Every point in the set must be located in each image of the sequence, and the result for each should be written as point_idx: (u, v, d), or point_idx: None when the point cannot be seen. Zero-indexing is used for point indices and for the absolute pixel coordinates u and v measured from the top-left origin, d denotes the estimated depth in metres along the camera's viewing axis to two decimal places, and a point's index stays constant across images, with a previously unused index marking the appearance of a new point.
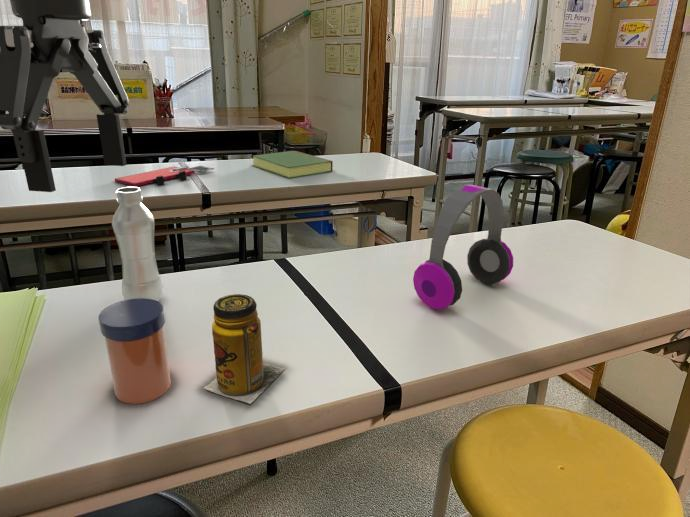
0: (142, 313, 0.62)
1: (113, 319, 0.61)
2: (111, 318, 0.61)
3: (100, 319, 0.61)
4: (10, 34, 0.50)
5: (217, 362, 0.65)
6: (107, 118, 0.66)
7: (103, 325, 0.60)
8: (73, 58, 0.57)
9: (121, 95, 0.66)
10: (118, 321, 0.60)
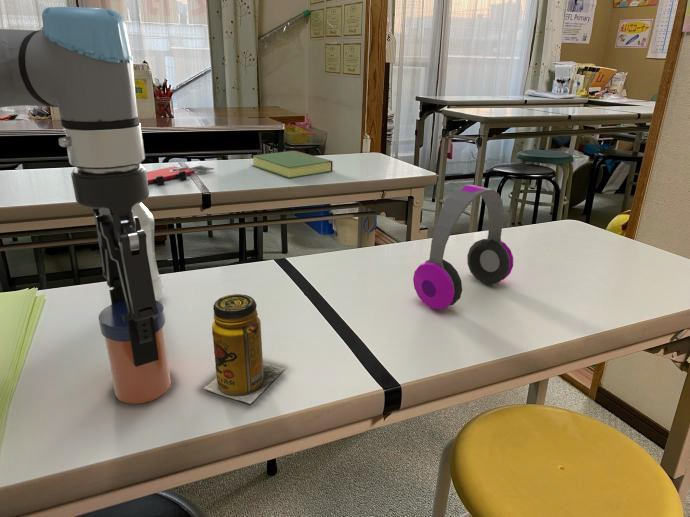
0: None
1: (113, 319, 0.61)
2: (111, 318, 0.61)
3: (100, 319, 0.61)
4: None
5: (217, 362, 0.65)
6: None
7: (103, 325, 0.60)
8: None
9: (130, 304, 0.56)
10: (118, 321, 0.60)
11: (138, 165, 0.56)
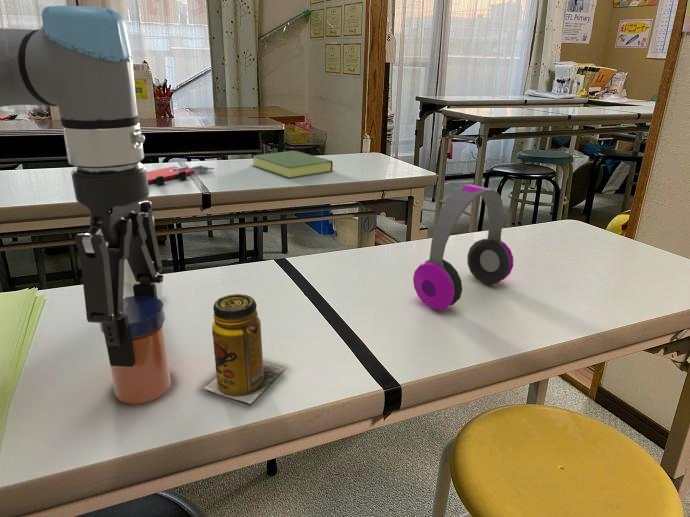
0: (128, 304, 0.63)
1: (152, 307, 0.63)
2: (151, 308, 0.63)
3: (159, 310, 0.62)
4: (89, 245, 0.52)
5: (217, 362, 0.65)
6: (144, 289, 0.65)
7: (163, 307, 0.63)
8: None
9: (157, 261, 0.67)
10: (152, 303, 0.64)
11: None
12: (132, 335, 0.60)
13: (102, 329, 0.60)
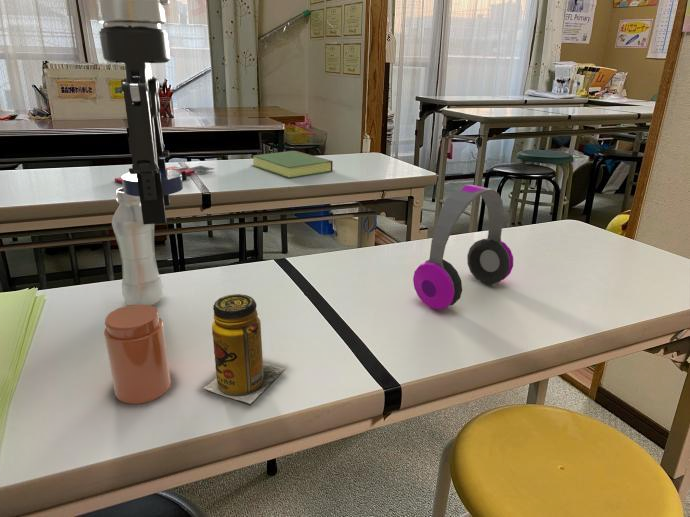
0: None
1: (170, 173, 0.68)
2: (171, 173, 0.68)
3: (180, 174, 0.68)
4: (136, 92, 0.57)
5: (217, 362, 0.65)
6: None
7: None
8: None
9: (161, 138, 0.71)
10: (168, 171, 0.69)
11: None
12: (163, 193, 0.65)
13: (131, 191, 0.64)
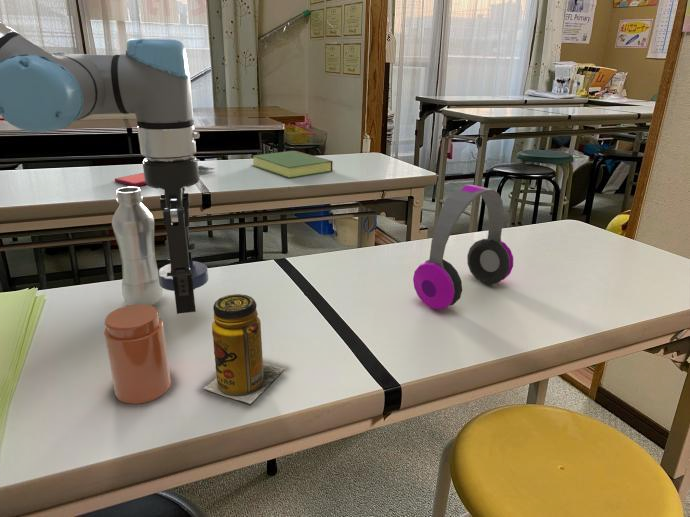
0: None
1: (198, 266, 0.81)
2: (198, 267, 0.81)
3: (206, 268, 0.81)
4: (175, 216, 0.70)
5: (217, 362, 0.65)
6: None
7: None
8: None
9: (188, 233, 0.84)
10: (195, 264, 0.82)
11: None
12: (193, 287, 0.78)
13: (166, 286, 0.77)
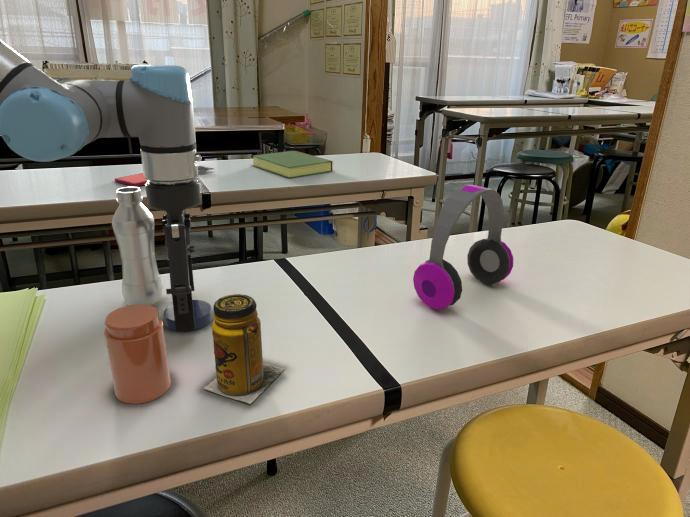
0: None
1: (202, 306, 0.84)
2: (202, 307, 0.83)
3: (210, 307, 0.83)
4: (176, 230, 0.70)
5: (217, 362, 0.65)
6: None
7: (209, 305, 0.84)
8: None
9: None
10: (199, 304, 0.84)
11: None
12: (198, 327, 0.80)
13: (172, 327, 0.80)
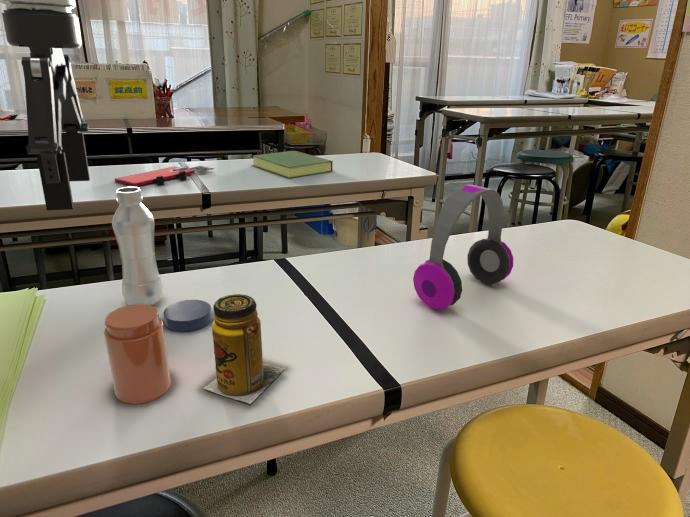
0: (181, 307, 0.83)
1: (202, 306, 0.84)
2: (202, 307, 0.83)
3: (210, 307, 0.83)
4: (37, 65, 0.54)
5: (217, 362, 0.65)
6: (72, 136, 0.69)
7: (209, 305, 0.84)
8: None
9: (80, 114, 0.70)
10: (199, 304, 0.84)
11: None
12: (198, 327, 0.80)
13: (172, 327, 0.80)
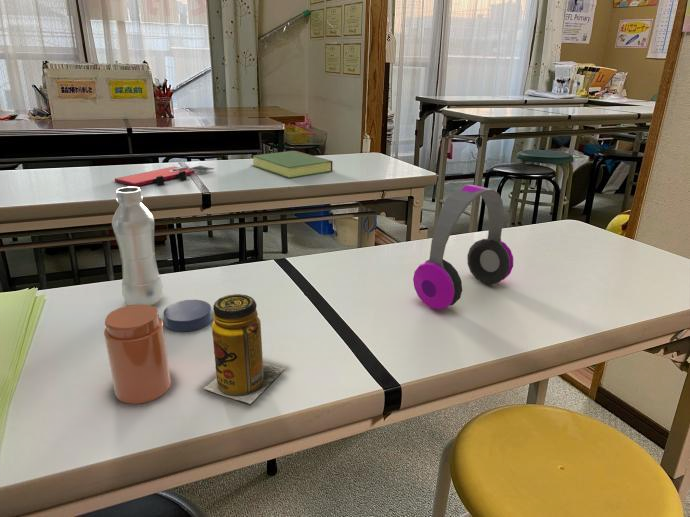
0: (181, 307, 0.83)
1: (202, 306, 0.84)
2: (202, 307, 0.83)
3: (210, 307, 0.83)
4: None
5: (217, 362, 0.65)
6: None
7: (209, 305, 0.84)
8: None
9: None
10: (199, 304, 0.84)
11: None
12: (198, 327, 0.80)
13: (172, 327, 0.80)
